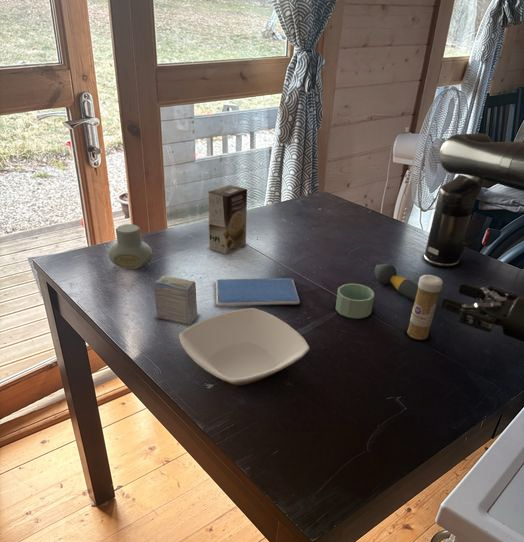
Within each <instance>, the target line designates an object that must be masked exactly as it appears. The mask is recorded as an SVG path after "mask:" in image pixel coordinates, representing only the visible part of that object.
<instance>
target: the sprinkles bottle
mask: <svg viewBox="0 0 524 542" xmlns="http://www.w3.org/2000/svg"><path fill="white" fill-rule="evenodd" d="M443 283H444V281H443V280H442V278H441V277H439V276H437V275H433V274H423V275H421V276H420V277H419V280H418V283H417V286H418V291H417V295H416V299H415V301H414V303H413V307H412V311H411V315H410V321H409V324H408V328H407V331H406V333H407V335H408V336H409V337H410V338H412V339H414V340H419V341H421V340H423V341H424V340H425V339H428V337H429V334H430V333H429V332H430V328H431V325H432V323H433V319H434V315H435V312H436V308H437V304H438V298H439V295H440V292H441V291H442V287H443Z"/></svg>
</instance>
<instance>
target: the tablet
mask: <svg viewBox="0 0 524 542" xmlns="http://www.w3.org/2000/svg"><path fill="white" fill-rule="evenodd" d="M215 303H216V306H217V307H231V306H232V307H235V306H273V305H275V306H276V305H299V304H300V303H301V299H300V298H299V294H298V291H297V288H296V285H295V282H294V279H293V278H291V277H282V278H281V277H277V278H275V277H274V278H226V279H225V278H224V279H223V278H221V279H215Z"/></svg>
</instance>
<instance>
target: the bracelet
mask: <svg viewBox="0 0 524 542" xmlns="http://www.w3.org/2000/svg"><path fill="white" fill-rule="evenodd" d="M374 301H375V291H374V290H373V289H372V288H371V287H369V286H367V285H364V284H360V283H346V284H342V285H341V286H339V287H338V288H337V294H336V302H335V311H336V312H337V313H338V314H339V315H341V316H343V317H345V318H349V319H357V320H358V319H364V318H367V317H369V316H370V315H372V312H373V311H372V310H373V306H374Z"/></svg>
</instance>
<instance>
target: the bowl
mask: <svg viewBox="0 0 524 542" xmlns="http://www.w3.org/2000/svg"><path fill="white" fill-rule="evenodd" d="M178 338H179V342H180V345H181V346H182V348H183V349H184V351H185V352H186V354H187V355H188V356H189V357H190V358H191V360H193V361H194V363H196V364H197V365H198V366H200V367H201V368H202V369H204V370H205V371H206V372H208V373H209V374H211V375H212V376H214V377H216V378H218V379H220V380H222V381H224V382H227V383H229V384H231V385H234V386H244V385H248V384H252V383H255V382H259V381H261V380H264V379H265V378H268V377H269V376H272V375H274V374H276V373H277V372H279V371H282V370H283V369H285V368H287V367H289V366H291V365H292V364H294V363H295V362H297V361H299V360H300V359H302V358H303V357H304V356H305V355H307V353H308V352H309V351H310V345H309V344H308V343H307V341H306V339H305V338H304V336H302V335H301V334H300V333H299V332H298V331H297V330H296V329H294V328H293V327H292V326H291V325H289V323H286V322H284V321H283V320H282V319H280V318H279V317H276V316H275V315H273V314H271V313H268V312H266V311H265V310H260V309H258V308H255V307H250V308H241V309H236V310H231V311H228V312H223V313H219V314H215V315H213V316H211V317H208V318H205V319H203V320H201V321H198V322H196V323H194V324H192V325H190V326H188V327H187V328H185V329H184V330H182V332H180V333H179V335H178Z"/></svg>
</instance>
